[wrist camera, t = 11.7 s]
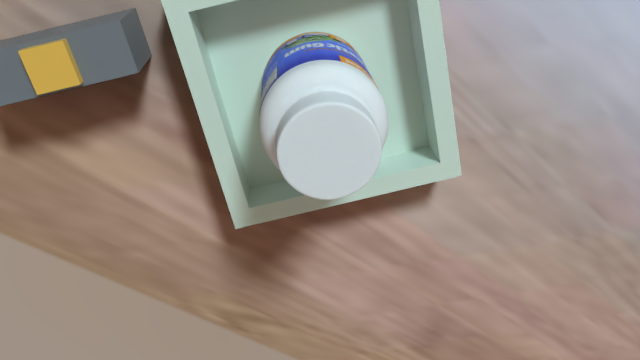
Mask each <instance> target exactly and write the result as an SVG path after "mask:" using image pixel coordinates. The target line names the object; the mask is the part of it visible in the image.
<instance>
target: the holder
mask: <svg viewBox="0 0 640 360" xmlns="http://www.w3.org/2000/svg"><path fill="white" fill-rule="evenodd" d="M151 56H152V55H151V52H150V49H149V46H148V43H147V41H146V38H145V35H144V32H143V29H142V26H141V23H140V20H139V17H138V15H137V12H136V9H135V8H134V9H129V10H125V11H121V12H117V13H113V14H109V15H105V16H101V17H97V18H92V19H88V20H84V21H80V22H76V23H72V24H68V25H64V26H59V27H55V28H51V29H47V30H43V31H39V32H35V33H31V34H27V35H22V36H18V37H14V38H10V39H6V40H2V41H0V106H4V105H8V104H12V103H16V102H20V101H24V100H28V99H33V98H37V97H41V96H45V95H49V94H53V93H57V92H62V91H66V90H70V89H74V88H78V87H82V86H87V85H91V84H95V83H99V82H103V81H107V80H111V79H116V78H120V77H124V76H128V75H132V74H136V73H139V72H140V70H141V69H142V68H143V66H144V65H145V64H146V62H147V61H148V60H149V58H150V57H151Z"/></svg>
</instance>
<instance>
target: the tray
mask: <svg viewBox="0 0 640 360" xmlns="http://www.w3.org/2000/svg"><path fill="white" fill-rule="evenodd" d="M161 2H162V5H163V8H164V11H165V14H166V17H167V20H168V24H169V27H170V30H171V33H172V36H173V39H174V42H175V45H176V48H177V51H178V54H179V57H180V60H181V63H182V67H183V70H184V73H185V76H186V79H187V82H188V85H189V88H190V91H191V94H192V97H193V100H194V103H195V106H196V110H197V113H198V116H199V119H200V122H201V125H202V128H203V131H204V134H205V137H206V140H207V143H208V146H209V149H210V153H211V156H212V159H213V162H214V165H215V168H216V171H217V174H218V177H219V180H220V183H221V186H222V189H223V192H224V195H225V199H226V202H227V205H228V208H229V211H230V214H231V217H232V220H233V223H234V226H235V229H238V228H243V227H247V226H251V225H255V224H260V223H264V222H268V221H272V220H276V219H281V218H285V217H289V216H293V215H297V214H302V213H306V212H310V211H314V210H319V209H323V208H327V207H331V206H335V205H340V204H344V203H348V202H352V201H357V200H361V199H365V198H369V197H373V196H378V195H382V194H386V193H390V192H395V191H399V190H403V189H407V188H411V187H416V186H420V185H424V184H428V183H432V182H437V181H441V180H445V179H449V178H454V177H458V176H462V174H461V167H460V159H459V151H458V143H457V136H456V128H455V120H454V112H453V105H452V97H451V89H450V82H449V74H448V66H447V58H446V51H445V43H444V35H443V27H442V20H441V12H440V4H439V0H161ZM311 31H321V32H327V33H331V34H334V35H336V36H339V37H340V38H342V39H344V40H345V41H347V42H348V43H349V44H350V45H351V46H353V48H354V49H355V50H356V51H357V52H358V54H359V55H360V56H361V58H362V60H363V62H364V63H365V65H366V67H367V69H368V71H369V73H370V75H371V76H372V78H373V80H374V82H375V84H376V85H377V87H378V89H379V91H380V93H381V95H382V97H383V99H384V102H385V105H386V108H387V113H388V133H387V138H386V142H385V144H384V147H383V149H382V153H381V160H380V163H379V166H378V169H377V171H376V173H375V174H374V176H373V177H372V179H371V180H370V181H369V182H368V183H367V184H366V185H365V186H364V187H363V188H362V189H360V190H359V191H357V192H356V193H354V194H352V195H350V196H347V197H344V198H340V199H335V200H320V199H315V198H311V197H308V196H306V195H304V194H302V193H300V192H298V191H297V190H295V189H294V188H293V187H292V186H291V185H290V184H289V183H288V182H287V181H286V180H285V178H284V177H283V175H282V173H281V171H280V170H279V169H278V168H277V167H276V166H275V165H274V164H273V162H272V161H271V160H270V158H269V157H268V155H267V153H266V151H265V149H264V147H263V144H262V141H261V137H260V128H259V114H260V101H261V89H262V79H263V74H264V70H265V67H266V65H267V63H268V61H269V59H270V57H271V55H272V54H273V53H274V51H275V50H276V49H277V48H278V47H279V46H280V45H281V44H282V43H283V42H285V41H286V40H288V39H289V38H291V37H293V36H295V35H298V34H301V33H305V32H311Z"/></svg>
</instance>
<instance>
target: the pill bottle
mask: <svg viewBox="0 0 640 360" xmlns="http://www.w3.org/2000/svg"><path fill="white" fill-rule="evenodd" d="M259 128H260V137H261V141H262V144H263V147H264V149H265V151H266V153H267V155H268V157H269V158H270V160H271V161H272V162H273V164H274V165H275V166H276V167H277V168H278V169H279V170H280V171H281V173H282V175H283V177H284V178H285V180H286V181H287V182H288V183H289V184H290V185H291V186H292V187H293V188H294V189H295V190H297V191H298V192H300V193H302V194H304V195H306V196H308V197H311V198H315V199H320V200H335V199H340V198H344V197H347V196H350V195H352V194H354V193H356V192H357V191H359V190H360V189H362V188H363V187H364V186H365V185H366V184H367V183H368V182H369V181H370V180H371V179H372V177H373V176H374V174H375V173H376V171H377V169H378V166H379V163H380V160H381V153H382V149H383V147H384V144H385V142H386V138H387V133H388V113H387V108H386V105H385V102H384V99H383V97H382V95H381V93H380V91H379V89H378V87H377V85H376V84H375V82H374V80H373V78H372V76H371V75H370V73H369V71H368V69H367V67H366V65H365V63H364V62H363V60H362V58H361V56H360V55H359V54H358V52H357V51H356V50H355V49H354V48H353V46H351V45H350V44H349V43H348V42H347V41H345V40H344V39H342V38H340V37H339V36H336V35H334V34H331V33H327V32H321V31H311V32H305V33H301V34H298V35H295V36H293V37H291V38H289V39H288V40H286V41H285V42H283V43H282V44H281V45H280V46H279V47H278V48H277V49H276V50H275V51H274V53H273V54H272V55H271V57H270V59H269V61H268V63H267V65H266V67H265V70H264V74H263V79H262V89H261V101H260V114H259Z"/></svg>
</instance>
